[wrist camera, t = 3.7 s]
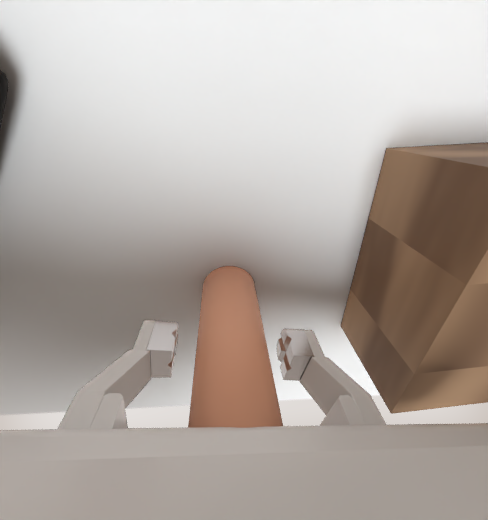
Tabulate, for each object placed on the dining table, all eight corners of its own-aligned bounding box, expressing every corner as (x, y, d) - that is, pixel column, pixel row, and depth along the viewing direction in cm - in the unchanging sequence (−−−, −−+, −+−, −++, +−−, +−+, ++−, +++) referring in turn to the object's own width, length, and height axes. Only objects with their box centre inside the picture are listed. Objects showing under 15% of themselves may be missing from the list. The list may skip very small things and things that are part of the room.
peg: (206, 308, 15) (188, 548, 7) (199, 268, 14) (164, 521, 5) (254, 304, 15) (296, 533, 7) (253, 264, 14) (308, 501, 5)
